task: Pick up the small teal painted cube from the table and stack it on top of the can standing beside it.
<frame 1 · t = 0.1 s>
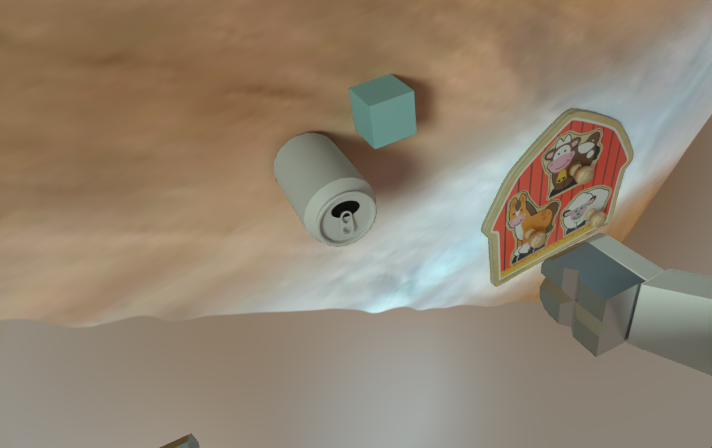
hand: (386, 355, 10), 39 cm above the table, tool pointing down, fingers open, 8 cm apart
teal block: (372, 101, 53), on the table
can: (303, 159, 54), on the table
knob puzzle: (554, 187, 78), on the table
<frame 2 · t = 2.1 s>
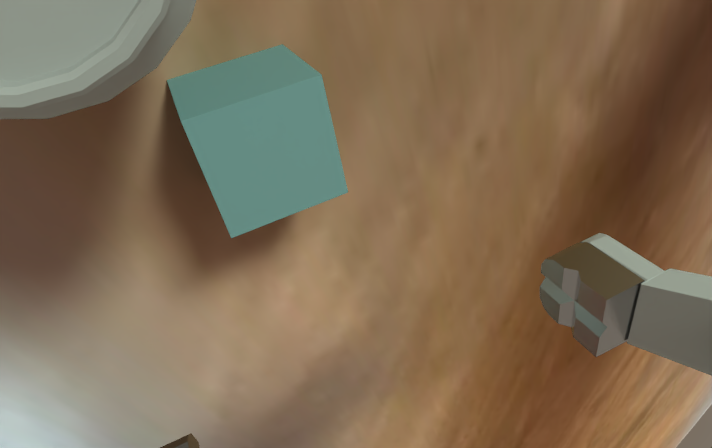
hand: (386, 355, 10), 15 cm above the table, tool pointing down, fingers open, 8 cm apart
teal block: (244, 116, 22), on the table
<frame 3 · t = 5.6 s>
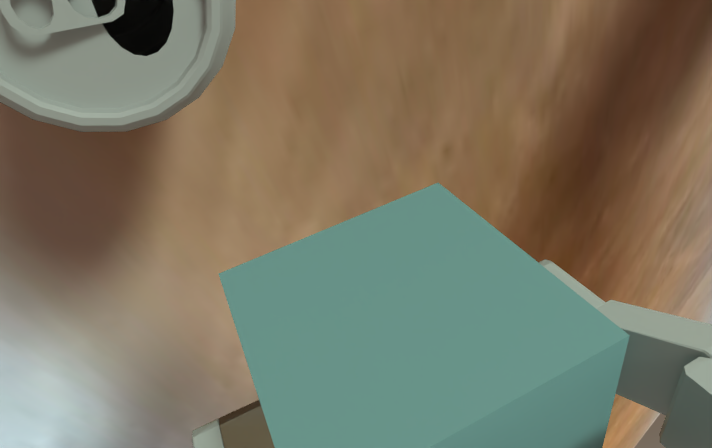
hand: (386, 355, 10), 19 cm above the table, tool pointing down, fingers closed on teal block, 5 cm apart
teal block: (355, 307, 12), point 17 cm above the table, touching gripper
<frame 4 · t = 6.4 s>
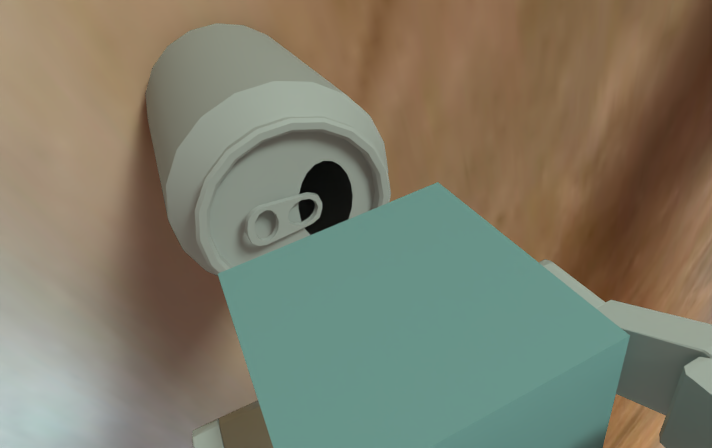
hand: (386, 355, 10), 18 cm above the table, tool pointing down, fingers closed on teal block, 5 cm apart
teal block: (355, 307, 11), point 16 cm above the table, touching gripper
can: (225, 99, 24), on the table
when the fingers open (15 cm above the table, at t = 7.3 s): teal block stays where it is, resting on can.
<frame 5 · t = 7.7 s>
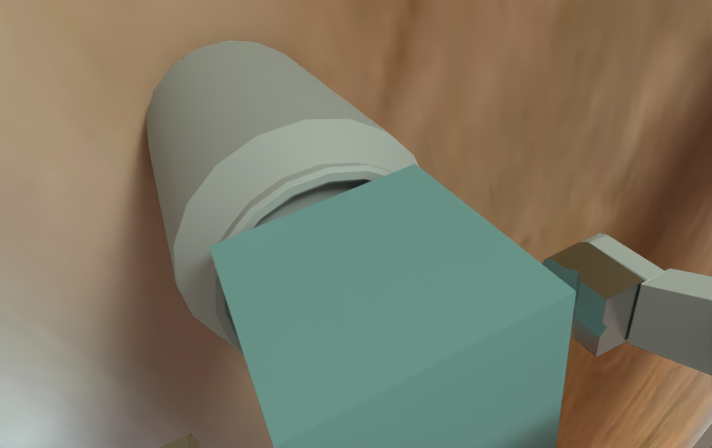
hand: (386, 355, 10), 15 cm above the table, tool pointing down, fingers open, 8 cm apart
teal block: (339, 282, 12), point 12 cm above the table, touching can
can: (235, 123, 22), on the table, touching teal block
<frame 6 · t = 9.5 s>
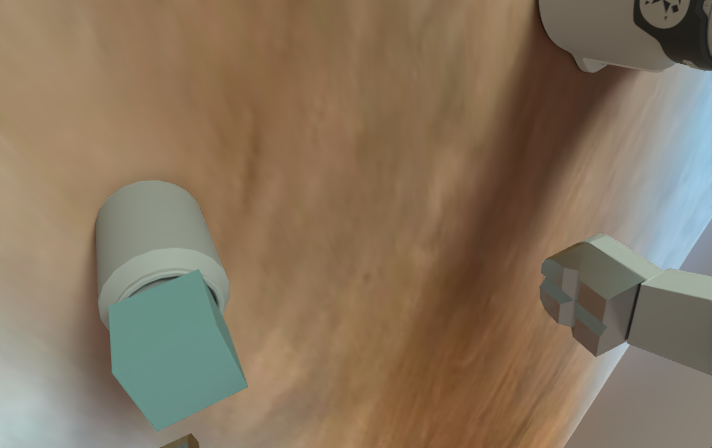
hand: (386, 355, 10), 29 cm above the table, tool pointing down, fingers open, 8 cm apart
teal block: (172, 317, 28), point 12 cm above the table, touching can
can: (150, 218, 37), on the table, touching teal block
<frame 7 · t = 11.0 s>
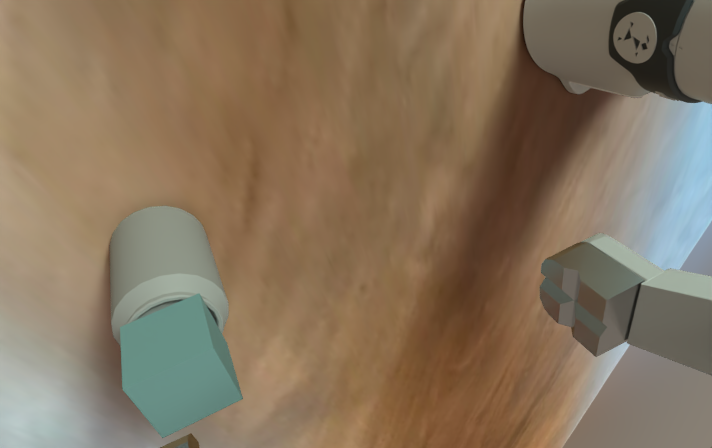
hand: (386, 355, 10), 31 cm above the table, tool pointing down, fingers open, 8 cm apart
teal block: (176, 335, 32), point 12 cm above the table, touching can
can: (159, 239, 41), on the table, touching teal block
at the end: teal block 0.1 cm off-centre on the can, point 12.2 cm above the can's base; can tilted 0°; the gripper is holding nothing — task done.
